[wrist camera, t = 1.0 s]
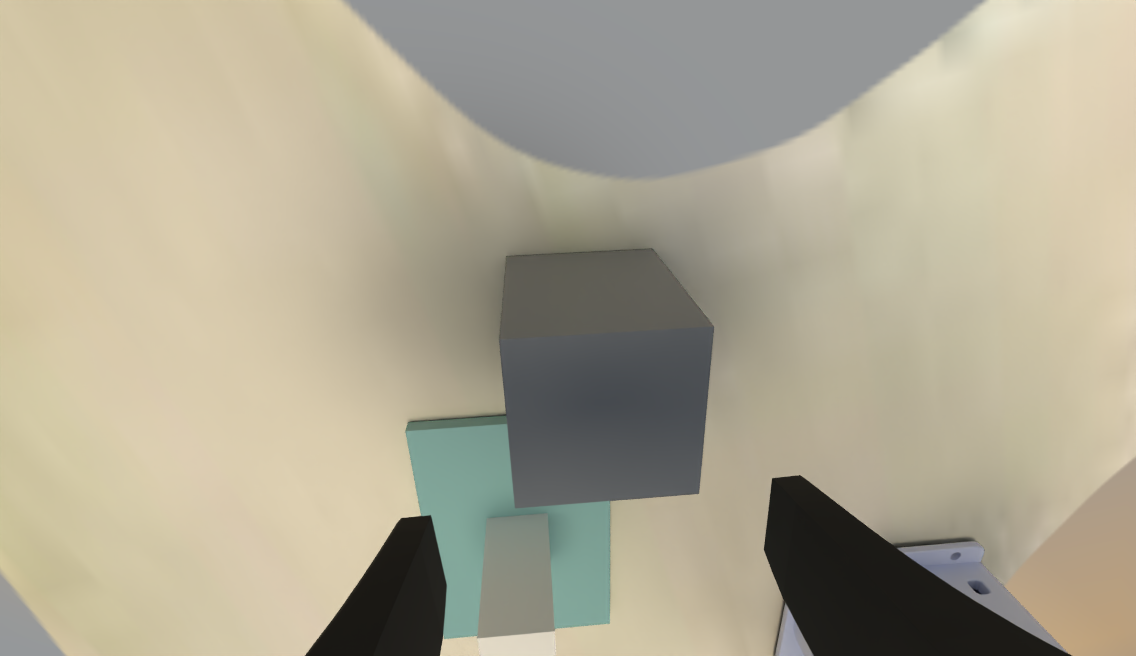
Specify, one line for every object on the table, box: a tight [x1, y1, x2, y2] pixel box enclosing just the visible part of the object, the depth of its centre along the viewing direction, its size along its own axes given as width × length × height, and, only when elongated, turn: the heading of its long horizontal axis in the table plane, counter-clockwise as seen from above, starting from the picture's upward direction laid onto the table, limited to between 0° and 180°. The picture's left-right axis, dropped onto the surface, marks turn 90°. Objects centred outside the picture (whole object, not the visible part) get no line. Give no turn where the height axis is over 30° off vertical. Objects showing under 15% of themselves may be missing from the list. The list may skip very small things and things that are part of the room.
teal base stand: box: [405, 416, 610, 656], centre depth 21 cm, size 8×12×6 cm, turn 2°
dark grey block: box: [499, 249, 714, 508], centre depth 17 cm, size 5×5×7 cm
